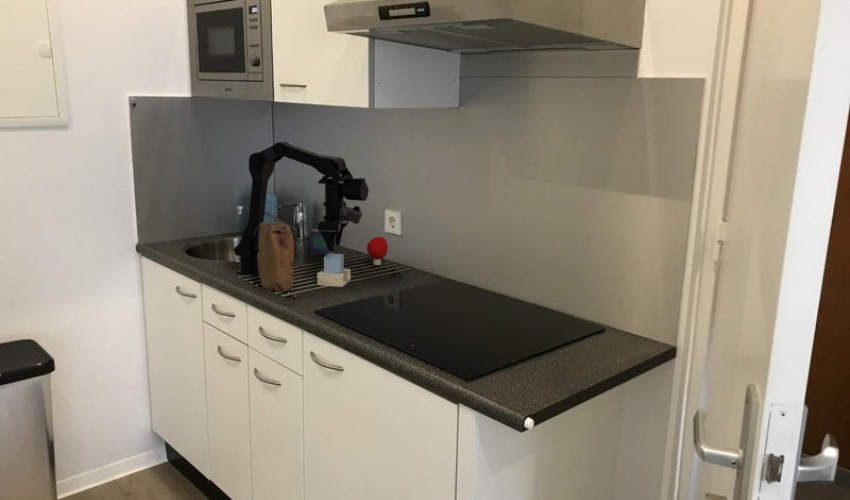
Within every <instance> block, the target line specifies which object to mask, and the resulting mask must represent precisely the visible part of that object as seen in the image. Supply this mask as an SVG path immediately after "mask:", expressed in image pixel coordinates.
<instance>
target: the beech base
mask: <svg viewBox="0 0 850 500" xmlns="http://www.w3.org/2000/svg"><path fill="white" fill-rule="evenodd" d="M316 279H317V282H316V283H317V284H318V286H327V287H339V288H342V287H344V286H345V285H347V284H348V283H349V282H350V281H351V268H343V271H342V272H341V273H324V268H323V269H322V270H320V271H318V272H317V278H316Z"/></svg>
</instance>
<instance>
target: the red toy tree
mask: <svg viewBox="0 0 850 500" xmlns="http://www.w3.org/2000/svg"><path fill="white" fill-rule="evenodd" d="M388 249H389V245H388V241H387V240H386V239H385V238H384V237H382V236H376V237H373V238H372V239H370V240H369V242H368V243H367V245H366V251H367V254H368V255H369V256H370V257H371V258H372V259H373V260H372V263H373V265H374V266H375V267H379V266H381V264H382V259H384V258H385V257H386V256H387V255H388Z"/></svg>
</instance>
